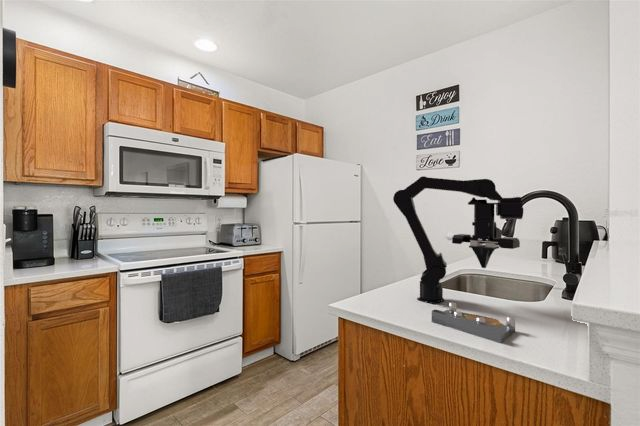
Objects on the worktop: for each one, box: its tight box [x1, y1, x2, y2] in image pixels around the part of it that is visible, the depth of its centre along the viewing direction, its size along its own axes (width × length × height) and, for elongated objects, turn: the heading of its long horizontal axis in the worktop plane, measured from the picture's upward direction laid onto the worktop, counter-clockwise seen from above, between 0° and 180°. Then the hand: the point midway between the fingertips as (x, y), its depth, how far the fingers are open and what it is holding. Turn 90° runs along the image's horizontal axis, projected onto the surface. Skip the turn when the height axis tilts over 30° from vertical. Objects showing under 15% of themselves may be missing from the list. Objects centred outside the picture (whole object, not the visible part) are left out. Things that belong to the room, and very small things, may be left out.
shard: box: [461, 311, 505, 327], centre depth 89 cm, size 11×8×2 cm
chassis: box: [431, 301, 516, 344], centre depth 86 cm, size 18×10×4 cm, turn 39°
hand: (483, 267), depth 103 cm, fingers closed
